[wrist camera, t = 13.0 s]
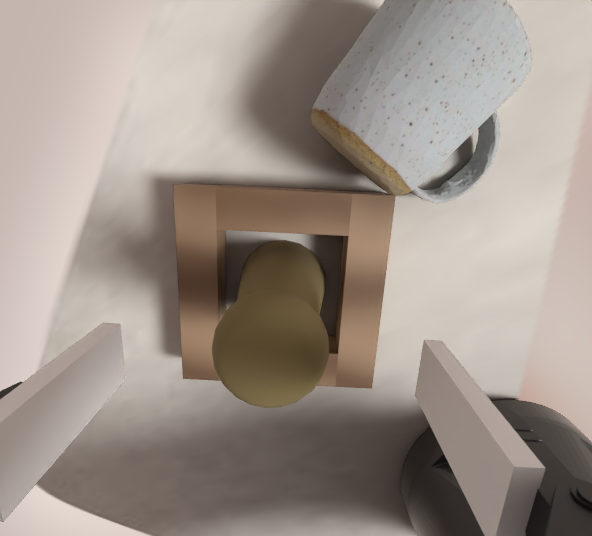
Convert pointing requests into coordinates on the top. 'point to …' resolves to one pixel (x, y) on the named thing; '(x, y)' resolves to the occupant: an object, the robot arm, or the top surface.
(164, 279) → the top surface
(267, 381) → the olive rounded upright piece
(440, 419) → the robot arm
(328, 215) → the socket block
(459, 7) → the ceramic mug
